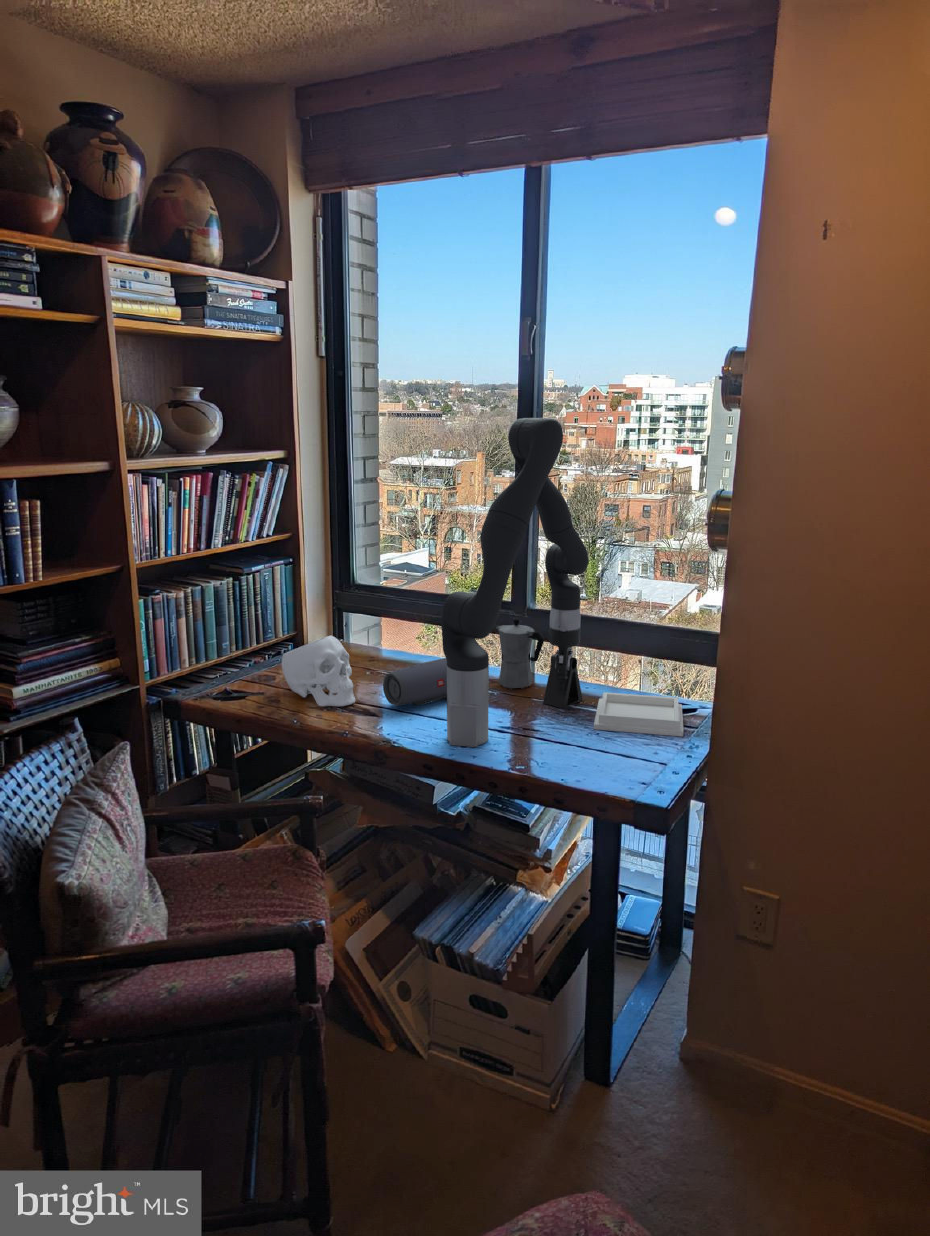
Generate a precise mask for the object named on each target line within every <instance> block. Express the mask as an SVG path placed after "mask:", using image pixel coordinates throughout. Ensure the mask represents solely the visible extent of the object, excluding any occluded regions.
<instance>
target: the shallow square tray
mask: <svg viewBox="0 0 930 1236" xmlns="http://www.w3.org/2000/svg"><path fill="white" fill-rule="evenodd" d="M596 707H597V708H596V712H595V716H594V721H593V722H594V723H593V730H597V731H611V732H623V733H634V734H635V733H636V734H646V735H648V734H649V735H661V736H671V737H673V736H674V737H684V720H683V704H681V703H679V697H673V696H672V697H671V696H658V695H645V694H643V695H642V694H630V693H618V692H615V693H614V692H605V691H604V692H603V693H602V697H600V698H599V699H598V704H597V706H596Z"/></svg>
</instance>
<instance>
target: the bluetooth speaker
mask: <svg viewBox="0 0 930 1236" xmlns="http://www.w3.org/2000/svg"><path fill="white" fill-rule="evenodd" d="M382 688H383V694H384V697H385V699H386V700H387V702H388V703H389V704H390V705H392V706H395V707H396V706H398V707H399V706H405V705H410V704H412V705H413V706H420V705H421V704H422V705H426V704H429V703H428V702H430V703H432V702H431V701H434V702H437V701H442V700H443V698H444V699H447V660H446V657H444V658H439V659H433V660H430V661H426V662H421V663H417V664H413V665H410V666H405V667H403V668H399V669H396V670H393V671H390V672H388V673H387V674H385V677H384V678H383V683H382ZM425 703H426V704H425Z"/></svg>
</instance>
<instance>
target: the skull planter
mask: <svg viewBox="0 0 930 1236" xmlns="http://www.w3.org/2000/svg"><path fill="white" fill-rule="evenodd" d="M281 668H282V669H281V670H282V672H283V675H284V678H285V680H286V683H287V685H288V686H289V688H290V690H291V691H292V692H293V693H296V694H298V695H299V696H300V697H302V698H306V697H307V696H308V695H309V694H310V695H312V696H313V698H314V700H315V702H316V705H317V706H320V707H345V706H349V705H352V704H355V703H356V697H355V694H354V689H353V688H354V683H353V681H352V679H350V677H351V676H352V674H353V673H352V671H353V670H352V667H351V665H350V654H349V653H348V652H347V650H346V648H345V647H344V646H343V644H342V642H340V640H339V639H337V637H335V636H333V635H331V634H330V635H327V636H324V637H322V638H320V639H316V640H315V641H312V642H309V643H307V644H304V645H301V646H299V647H298V648H297V647H296V648H294V649H292V650H289V651H287V652H285V653H283V655H282V658H281ZM324 690H328V694H327V693H325V691H324Z"/></svg>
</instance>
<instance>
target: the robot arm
mask: <svg viewBox="0 0 930 1236" xmlns="http://www.w3.org/2000/svg"><path fill="white" fill-rule="evenodd" d="M507 437H508V438H507V439H508V446H509V449H510V452H511V454H512V456H513V459H514V461H515V462H516V465H517V468H518V469H519V471H520V472H519V473H518V475H517V476H516V478H514V479H513V481H512V482H511V483H509V485H508V486H506V488H504V490H502V492H501V493H500V494H499V495H498V496H497V497H496V498H495V499H494V500H493V502H492V503H491V505H490V506H489V509H488V512H487V514H486V517H485V520H484V521H483V525H482V527H481V529H480V530H481V531H480V548H481V554H482V555H481V556H482V561H483V569H482V570H483V573H482V576H481V579H480V582H479V586H478V588H477V591H476V593H475V594H474V593H469V592H467V591H466V592H465V591H454V592H451V593H450V594H449V595H448V596H447V597H446V599H445V600H444V602H443V605H442V607H441V608H442V609H441V618H440V620H441V637H442V651H443V654H444V658H446V660H447V697H446V739H447V741H448V742H449V745H450V746H456V747H457V746H459V747H469V748H470V747H471V748H477V747H478V746H481V745H482V744H485V743H487V742H488V741H489V699H490V698H489V696H490V695H489V685H490V684H489V678H490V677H489V675H490V670H489V669H490V668H489V667H490V665H489V663H490V657H489V653H488V651H486V649H485V648H483V647H482V645H480V644H479V643H478V641H477V640H483V639H484V638H487V637H488V636H489V635H490V634H491V633H492V632H493V630H494V627H495V625H496V623H497V621H498V617H499V615H500V614H499V613H500V611H501V608H502V605H503V604H502V603H503V600H504V596H505V592H506V588H507V586H508V585H507V584H508V582H509V578H510V575H511V573H512V569H513V566H514V563H515V561H516V557H517V555H518V553H519V551H520V549H521V548H520V547H521V545H522V543H523V541H524V537H525V535H526V533H527V530H528V527H529V524H530V521H531V518H532V515H533V512H534V510H535V507H536V510H537V513H538V517H539V519H540V523H541V527H542V530H543V534H544V536H545V538H546V540H547V541H549V542H550V543H553V544H551V545H550V547H549V548H548V549H547V550H546V554H545V558H544V563H545V565H544V566H545V569H546V574H547V578H548V579H547V580H548V582H549V585H550V591H551V594H550V595H551V598H550V599H551V601H550V613H549V635H548V636H549V643H550V644H551V645H552V646H554V647H557V649H556V651H555V653H554V655H555V658H556V665H555V668H556V675H555V677H556V679H557V693H558V694H565V693H566V679H567V672H568V671H569V670H570V660H571V658H572V657H573V655H574V650H573V648H574V647H576V646H578V645H580V643H581V618H582V617H581V616H582V615H581V608H580V607H581V587H580V586H579V585H578V584H577V583H575V582H573V581H572V580H570V578H569V575H570V576H580V575H582V574H584V573H585V572H586V571H587V568H588V566H589V554H588V550H587V547H586V546H585V544H584V541H582V539H581V537H580V535H579V533H578V532H577V531H576V529H575V527H574V524H573V520H572V516H571V511H570V509H569V505H568V503H567V501H566V499H565V497H564V495H563V494H562V493H561V491H560V490H559V489H558V488H557V486H556V485H555V484H554V482H553V481H552V480H551V478H550V477H549V475H550V473H551V471H552V469H553V467H554V466H555V463H556V461H557V459H558V457H559V455H560V452H561V449H562V445H563V443H564V442H563V441H564V431H563V427H562V425H561V423H560V422H559V421H558V420H557V419H554V418H548V417H547V418H546V417H523V418H517V419H516V420H515V421H513V423H512V424H511V425H510V428H509V430H508V436H507ZM567 663H568V664H567ZM566 665H567V666H566ZM559 671H564V674H559Z"/></svg>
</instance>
